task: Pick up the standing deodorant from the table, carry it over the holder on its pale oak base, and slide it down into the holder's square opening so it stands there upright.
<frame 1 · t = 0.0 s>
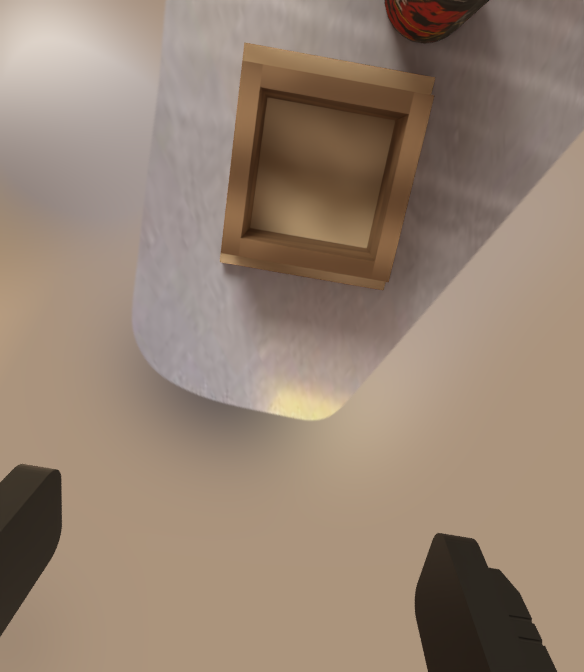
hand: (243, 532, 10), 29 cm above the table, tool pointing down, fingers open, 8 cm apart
holder: (319, 176, 35), on the table
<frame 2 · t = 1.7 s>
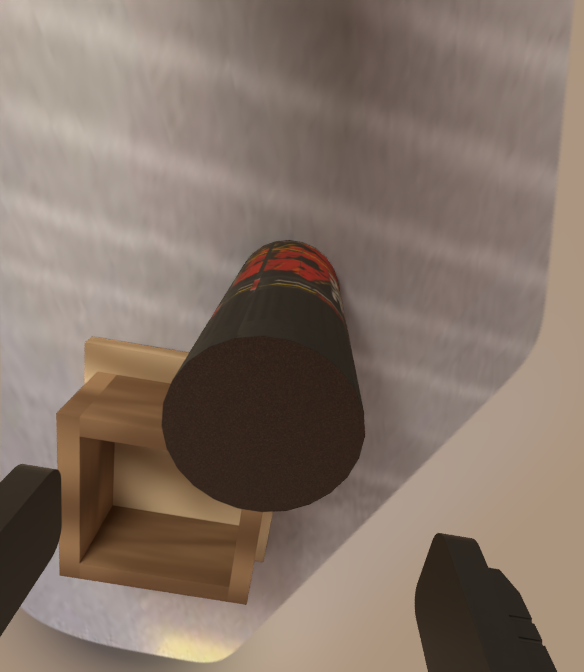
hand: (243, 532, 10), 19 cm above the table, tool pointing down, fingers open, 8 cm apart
holder: (185, 453, 32), on the table
deodorant: (288, 290, 28), on the table
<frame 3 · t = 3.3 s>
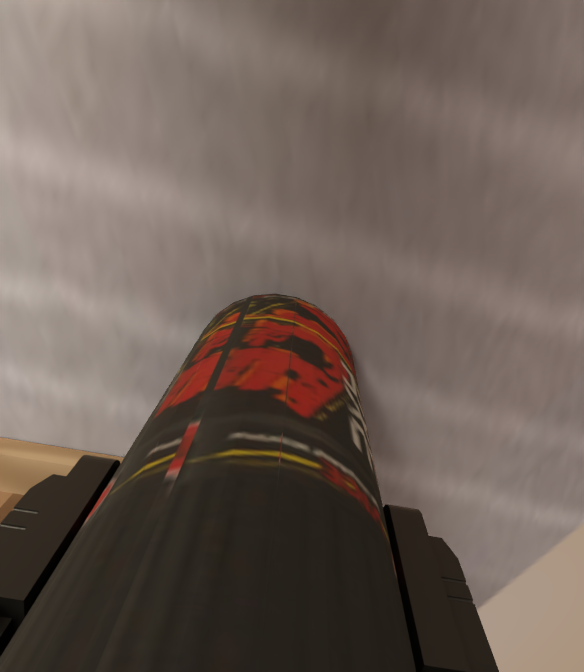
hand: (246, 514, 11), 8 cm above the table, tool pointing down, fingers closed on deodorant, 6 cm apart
holder: (127, 592, 22), on the table
deodorant: (273, 368, 18), on the table, touching gripper
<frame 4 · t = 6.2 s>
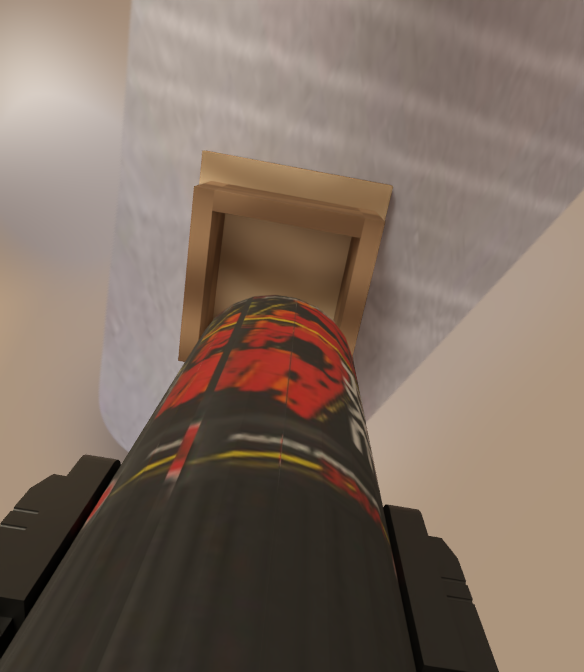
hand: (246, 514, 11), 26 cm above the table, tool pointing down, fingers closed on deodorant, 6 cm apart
holder: (281, 272, 35), on the table
deodorant: (274, 368, 18), point 18 cm above the table, touching gripper
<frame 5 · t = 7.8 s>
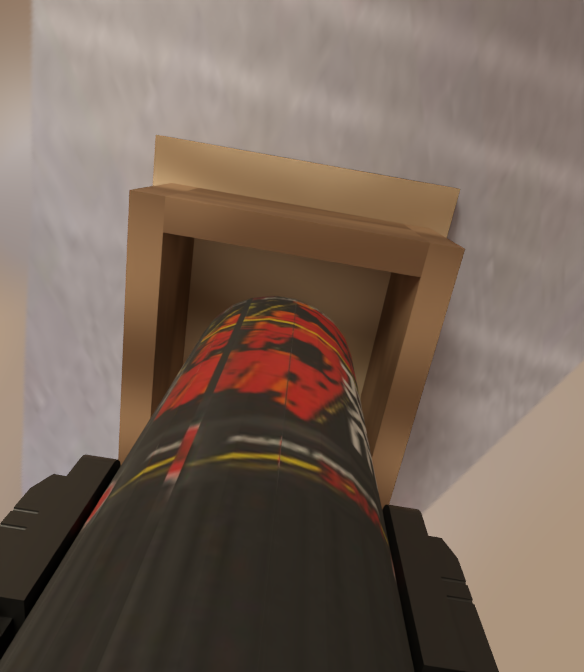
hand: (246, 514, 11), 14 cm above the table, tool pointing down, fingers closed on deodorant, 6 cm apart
holder: (282, 320, 23), on the table
deodorant: (273, 369, 18), point 6 cm above the table, touching gripper
when the fingers open (9 cm above the table, at t = 9.3 s): deodorant stays where it is, resting on holder.
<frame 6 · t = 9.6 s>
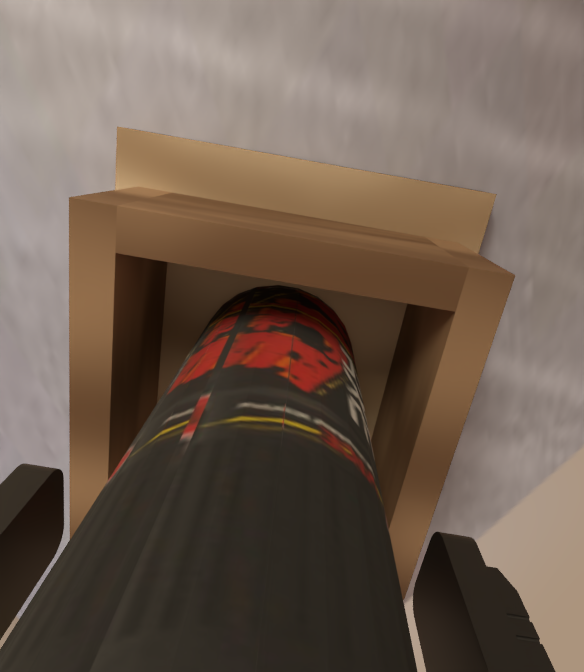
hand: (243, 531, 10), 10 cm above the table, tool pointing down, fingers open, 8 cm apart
holder: (276, 351, 19), on the table
deodorant: (276, 356, 19), point 1 cm above the table, touching holder
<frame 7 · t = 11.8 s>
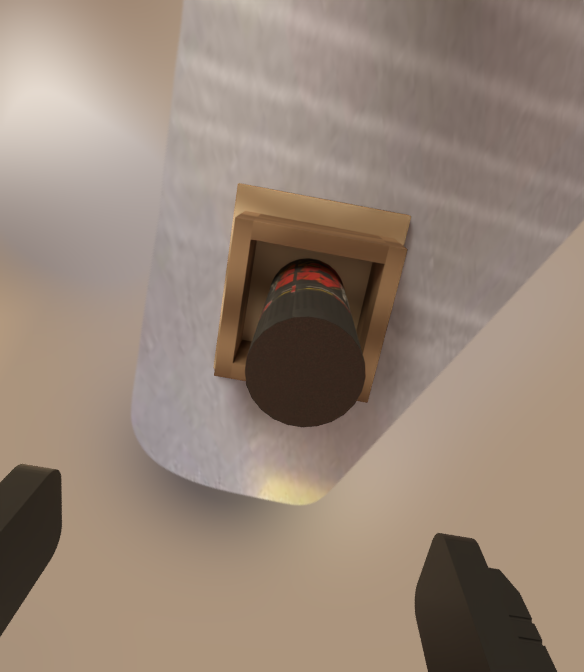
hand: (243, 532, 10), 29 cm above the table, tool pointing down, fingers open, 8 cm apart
holder: (306, 293, 38), on the table
deodorant: (307, 294, 37), point 1 cm above the table, touching holder
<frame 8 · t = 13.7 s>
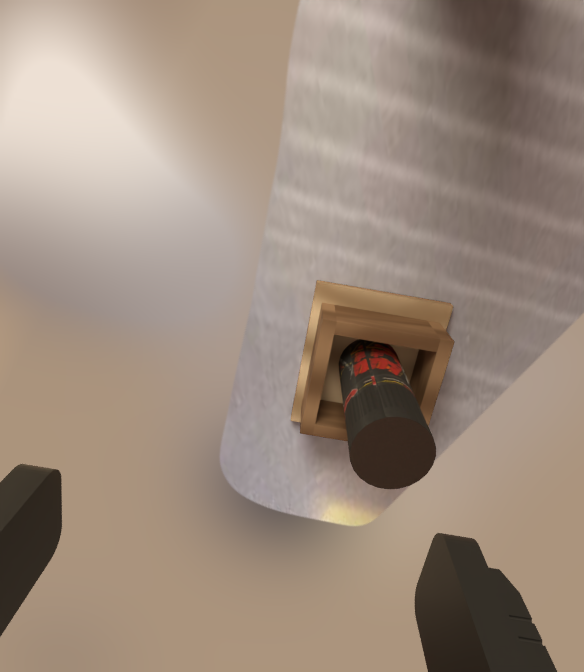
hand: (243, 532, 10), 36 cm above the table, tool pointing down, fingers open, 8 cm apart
holder: (366, 362, 48), on the table
deodorant: (368, 364, 47), point 1 cm above the table, touching holder
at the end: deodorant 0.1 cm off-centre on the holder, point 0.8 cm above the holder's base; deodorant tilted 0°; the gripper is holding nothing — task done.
